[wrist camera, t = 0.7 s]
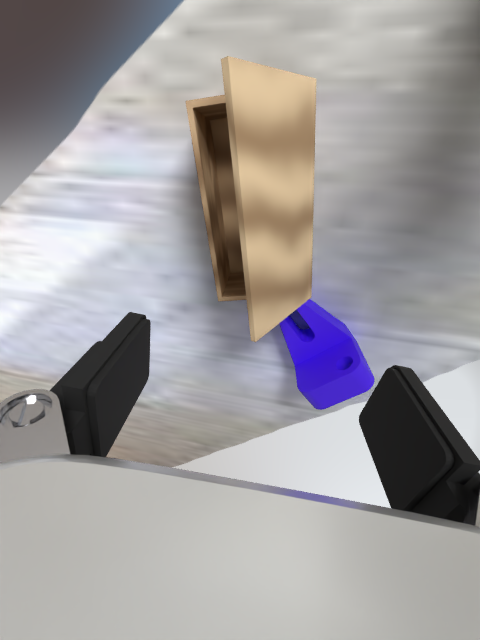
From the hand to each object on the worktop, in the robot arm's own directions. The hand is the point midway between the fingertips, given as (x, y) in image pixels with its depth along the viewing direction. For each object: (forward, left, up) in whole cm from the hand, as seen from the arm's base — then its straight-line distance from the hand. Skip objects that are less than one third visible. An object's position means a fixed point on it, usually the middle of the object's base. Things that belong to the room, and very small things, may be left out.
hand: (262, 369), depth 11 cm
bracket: (+19, +6, -36) cm, 41 cm away
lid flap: (-2, +1, -20) cm, 20 cm away
